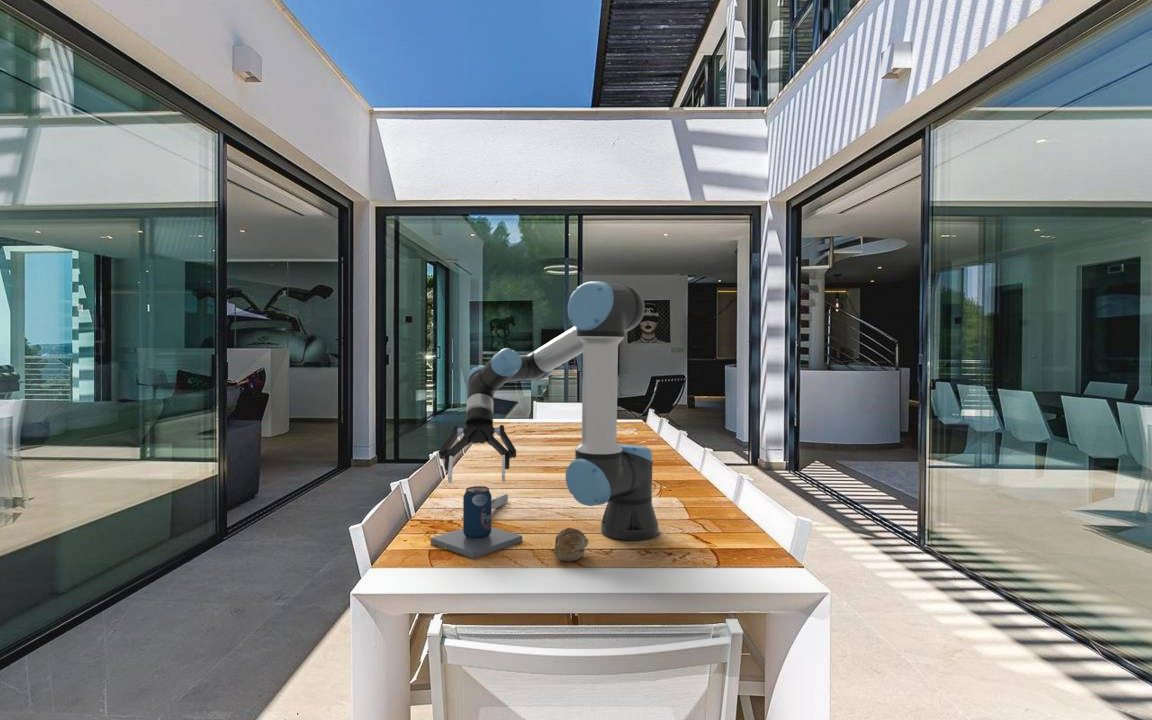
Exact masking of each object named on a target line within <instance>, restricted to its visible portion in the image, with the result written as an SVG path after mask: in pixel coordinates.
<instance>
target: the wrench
mask: <svg viewBox="0 0 1152 720" xmlns="http://www.w3.org/2000/svg"><path fill="white" fill-rule="evenodd" d="M508 501H509V494H507V493H501V494H497V495H496V496H493V497H491V511H492V510H493V509H494V510H495V509H496V508H499V507H501V506H503V505H506V504H508Z"/></svg>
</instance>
